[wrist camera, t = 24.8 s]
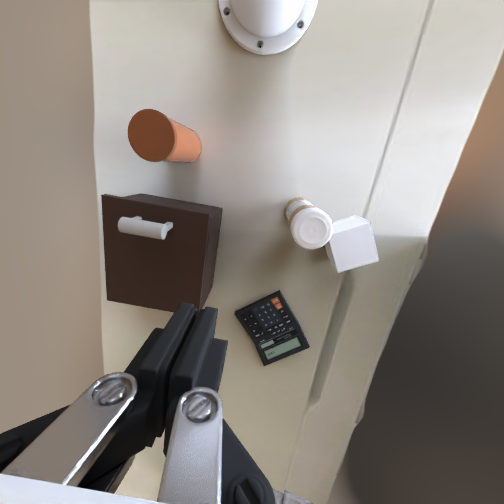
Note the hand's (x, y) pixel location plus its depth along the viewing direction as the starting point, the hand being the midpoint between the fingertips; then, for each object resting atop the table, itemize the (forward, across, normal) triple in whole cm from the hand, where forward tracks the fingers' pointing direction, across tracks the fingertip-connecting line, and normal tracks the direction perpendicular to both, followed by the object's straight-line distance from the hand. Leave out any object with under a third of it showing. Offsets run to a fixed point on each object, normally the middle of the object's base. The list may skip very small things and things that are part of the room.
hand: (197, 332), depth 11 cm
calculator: (+31, -8, +20) cm, 38 cm away
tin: (+31, +11, -9) cm, 34 cm away
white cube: (+31, -16, +1) cm, 35 cm away
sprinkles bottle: (+31, -8, -2) cm, 32 cm away
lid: (+22, +11, +7) cm, 25 cm away
